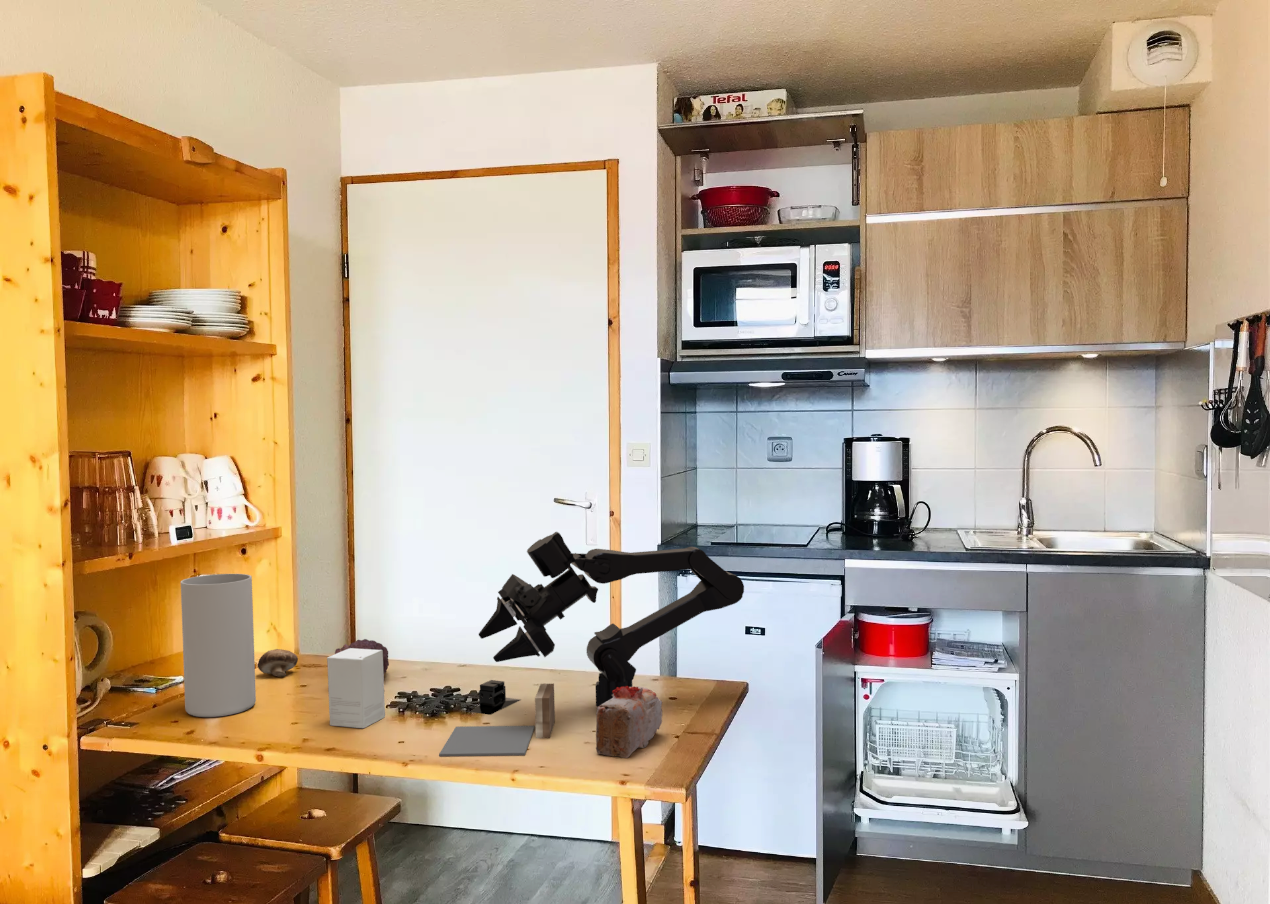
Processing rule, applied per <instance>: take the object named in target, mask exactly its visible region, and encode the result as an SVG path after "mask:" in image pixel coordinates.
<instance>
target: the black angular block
mask: <svg viewBox="0 0 1270 904" xmlns="http://www.w3.org/2000/svg"><path fill="white" fill-rule="evenodd" d="M506 690H507V689H506V685H505V681H503V680H496V679H495V680H494V679H490V680H488V681H485V682H484V683H481V684H479V690H478V699H479V701H478V702H479V703H478V704H479V705H478V704H477V705H478V706H477V707H475V709H473V710H471V711H466V712H467V713H476V714H482V715H489V716H491V715H493V714H496V713H497V712H500V711H501V710H503V709H505V708H508V707H509V706H512V705H514V704H515V703H518V702H520V701H521V699H519V698H513V697H512V698H511V697H506V696H507V694H506V692H507V691H506Z"/></svg>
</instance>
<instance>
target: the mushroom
mask: <svg viewBox="0 0 1270 904" xmlns="http://www.w3.org/2000/svg"><path fill="white" fill-rule="evenodd" d="M298 661H299V658H298V656H297V654H295V653H294V652H293V651H291V650H288V649H282V648H281V649H280V648H279V649H278V648H275V649H270V650H268V651H266V652H265V653H263V654H262V655H261V657H260V658H259V659H258V663H257V669H258V670H259V671H260V672H261V673H263V674H268V675H269V674H271V675H272V676H275V677H278V678H282V677H286V676H287V674H286V672H288V671H289V670H290V671H291V670H292V669H294V668H295V667H296V665H297V663H298Z"/></svg>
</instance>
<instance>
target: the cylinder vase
mask: <svg viewBox="0 0 1270 904" xmlns="http://www.w3.org/2000/svg"><path fill="white" fill-rule="evenodd" d="M252 577H253V576H252V575H249V574H246V573H220V574H219V573H218V574H207V575H200V576H199V575H198V576H192V577H189V578H184V579H182V580H181V581H180V604H181V626H182V627H181V628H182V629H181V630H182V653H183V681H184V684H183V686H184V710H185V712H186V713H187V714H189V715H190V716H192V717H197V718H198V717H199V718H218V717H226V716H227V717H228V716H231V715H236V714H239V713H243V712H244V711H247V710H249V709H251V708H252V707H253V706H254V705H255V704H256V701H257V699H256V698H257V696H256V695H257V694H256V692H257V689H256V665H255V663H256V661H255V639H254V638H255V636H254V635H255V633H254V610H253V609H254V606H253V582H252V581H253V578H252Z"/></svg>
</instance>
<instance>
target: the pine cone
mask: <svg viewBox="0 0 1270 904" xmlns="http://www.w3.org/2000/svg"><path fill="white" fill-rule="evenodd" d="M349 648H356V649H371V650H383V674H384V675H385V673H386V672H387V670H388V667H389V665H390V662H389V650H388V648H387V647H386V646H384V645H383V644H382V643H380V642H377V641H375V640H369V639H367V638H364V639H362V640H361V639H357V640H356V641H354V642H351V643H350V644H349V645H348V644H347V643H344V645H342V647H339V648H336V649H335V650H334V654H337V653H339V652H342V651H344V650H347V649H349Z"/></svg>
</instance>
